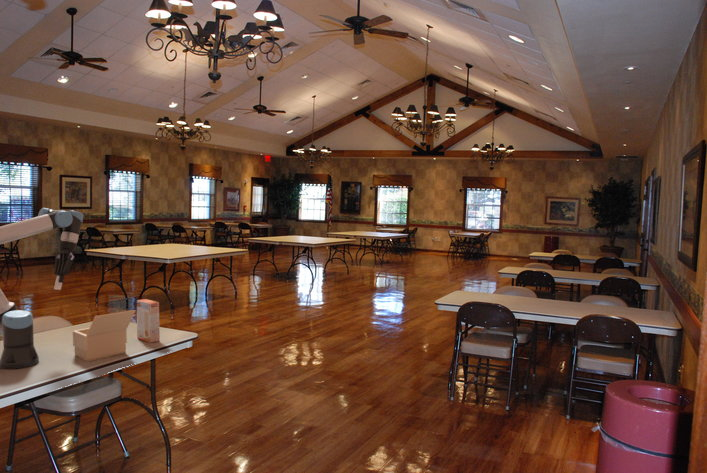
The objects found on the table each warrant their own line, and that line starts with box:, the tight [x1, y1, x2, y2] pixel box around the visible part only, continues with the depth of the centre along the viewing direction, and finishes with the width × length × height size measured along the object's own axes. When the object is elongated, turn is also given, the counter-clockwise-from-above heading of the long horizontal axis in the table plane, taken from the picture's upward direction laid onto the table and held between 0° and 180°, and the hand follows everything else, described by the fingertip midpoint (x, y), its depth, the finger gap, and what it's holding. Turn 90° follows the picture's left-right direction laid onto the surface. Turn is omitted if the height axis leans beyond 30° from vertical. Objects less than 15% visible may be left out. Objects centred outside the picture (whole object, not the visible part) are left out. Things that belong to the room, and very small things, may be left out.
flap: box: [86, 309, 136, 337], centre depth 254 cm, size 14×19×1 cm
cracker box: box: [136, 298, 161, 344], centre depth 289 cm, size 14×6×21 cm, turn 47°
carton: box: [72, 327, 128, 363], centre depth 262 cm, size 15×19×12 cm
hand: (57, 289), depth 264 cm, fingers closed
